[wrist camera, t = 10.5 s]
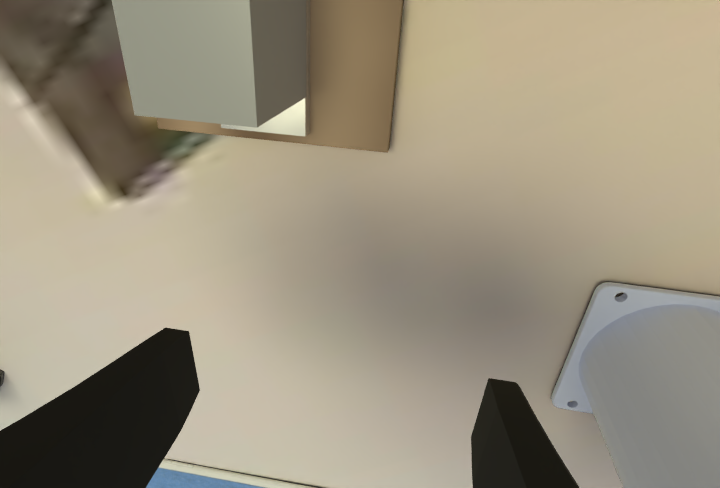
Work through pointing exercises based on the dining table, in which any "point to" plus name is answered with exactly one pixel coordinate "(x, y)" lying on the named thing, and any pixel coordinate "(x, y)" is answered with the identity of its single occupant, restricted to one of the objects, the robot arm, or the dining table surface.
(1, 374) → the mini dv tape
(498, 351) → the dining table surface
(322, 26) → the board
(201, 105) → the block
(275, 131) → the rail
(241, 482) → the tablet computer
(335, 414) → the dining table surface
